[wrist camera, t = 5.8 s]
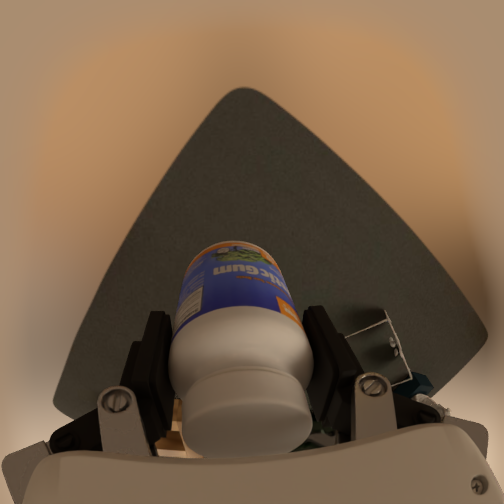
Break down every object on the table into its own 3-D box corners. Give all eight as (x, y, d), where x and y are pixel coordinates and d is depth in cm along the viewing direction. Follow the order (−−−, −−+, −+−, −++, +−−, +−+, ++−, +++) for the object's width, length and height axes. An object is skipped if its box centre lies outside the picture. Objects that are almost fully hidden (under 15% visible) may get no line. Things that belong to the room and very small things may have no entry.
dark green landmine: (309, 401, 38) (317, 425, 34) (361, 433, 44) (368, 451, 40) (222, 447, 42) (222, 469, 37) (285, 471, 48) (288, 488, 44)
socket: (139, 434, 39) (135, 453, 36) (121, 394, 35) (115, 415, 31) (204, 438, 40) (203, 458, 37) (196, 399, 36) (195, 422, 32)
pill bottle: (298, 263, 16) (374, 399, 7) (251, 334, 18) (278, 477, 9) (208, 220, 15) (200, 355, 6) (168, 302, 16) (140, 453, 7)
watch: (410, 398, 42) (435, 443, 32) (383, 393, 40) (409, 445, 30) (431, 376, 40) (461, 420, 30) (406, 369, 38) (438, 420, 28)
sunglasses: (405, 359, 37) (415, 385, 33) (354, 382, 40) (360, 409, 35) (380, 297, 32) (393, 325, 28) (317, 328, 34) (322, 358, 30)
